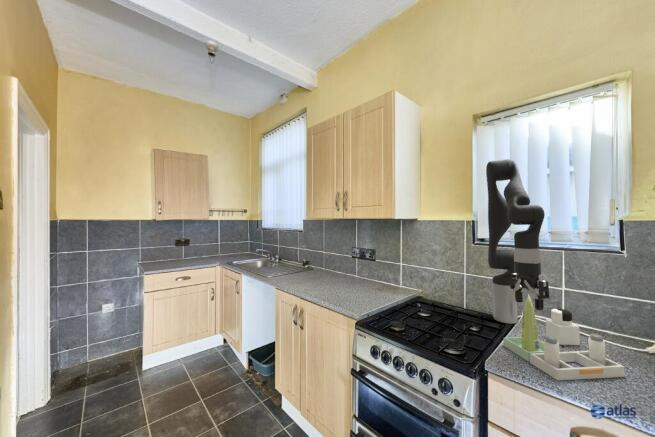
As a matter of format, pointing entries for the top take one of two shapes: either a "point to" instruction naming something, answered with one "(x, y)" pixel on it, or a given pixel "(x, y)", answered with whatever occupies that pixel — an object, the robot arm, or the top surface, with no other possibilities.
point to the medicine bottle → (562, 327)
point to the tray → (516, 347)
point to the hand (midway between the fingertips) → (528, 305)
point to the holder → (571, 373)
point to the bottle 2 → (597, 349)
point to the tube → (529, 328)
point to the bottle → (551, 351)
